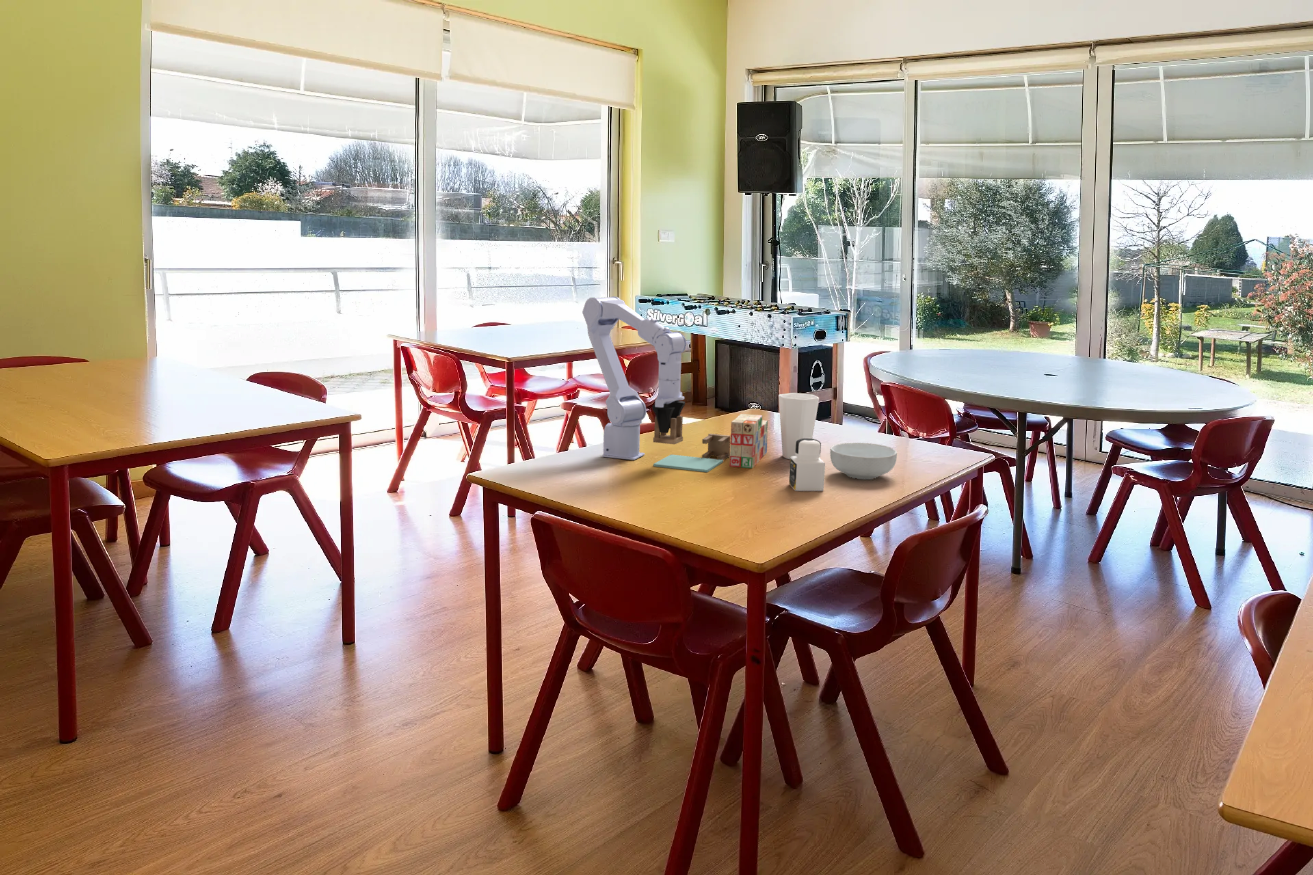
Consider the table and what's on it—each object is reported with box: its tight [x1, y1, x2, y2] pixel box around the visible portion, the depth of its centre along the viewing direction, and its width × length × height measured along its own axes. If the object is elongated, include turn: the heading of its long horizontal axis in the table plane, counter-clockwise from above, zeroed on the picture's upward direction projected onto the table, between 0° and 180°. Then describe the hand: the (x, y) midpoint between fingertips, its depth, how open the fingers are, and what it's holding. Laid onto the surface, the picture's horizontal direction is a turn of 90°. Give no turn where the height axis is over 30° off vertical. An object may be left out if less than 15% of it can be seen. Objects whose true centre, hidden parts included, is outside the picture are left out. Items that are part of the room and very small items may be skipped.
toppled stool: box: [701, 433, 731, 461], centre depth 288 cm, size 6×6×7 cm
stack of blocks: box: [729, 413, 769, 469], centre depth 287 cm, size 21×6×12 cm, turn 164°
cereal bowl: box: [829, 442, 898, 480], centre depth 271 cm, size 17×17×7 cm
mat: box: [652, 454, 724, 473], centre depth 280 cm, size 15×13×1 cm
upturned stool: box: [652, 415, 684, 445], centre depth 276 cm, size 6×6×7 cm
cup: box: [778, 392, 820, 460], centre depth 290 cm, size 11×10×17 cm
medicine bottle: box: [788, 438, 826, 492], centre depth 257 cm, size 7×7×12 cm
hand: (668, 430), depth 276 cm, fingers closed on upturned stool, 5 cm apart
